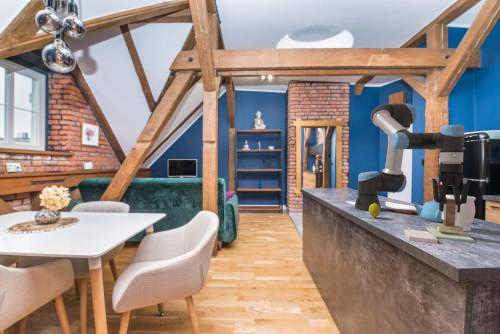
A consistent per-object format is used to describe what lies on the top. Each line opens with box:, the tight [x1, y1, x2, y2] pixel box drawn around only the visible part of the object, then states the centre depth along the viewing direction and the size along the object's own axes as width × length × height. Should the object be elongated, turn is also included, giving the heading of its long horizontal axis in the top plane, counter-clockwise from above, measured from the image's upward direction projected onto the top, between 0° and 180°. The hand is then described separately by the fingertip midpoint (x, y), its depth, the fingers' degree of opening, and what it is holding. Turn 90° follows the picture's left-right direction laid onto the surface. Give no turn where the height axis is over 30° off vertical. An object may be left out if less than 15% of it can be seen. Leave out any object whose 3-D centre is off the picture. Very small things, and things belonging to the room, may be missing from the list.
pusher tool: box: [434, 198, 464, 233], centre depth 104 cm, size 5×8×13 cm, turn 68°
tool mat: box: [426, 227, 475, 243], centre depth 104 cm, size 14×12×1 cm
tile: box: [403, 228, 438, 244], centre depth 100 cm, size 2×9×11 cm
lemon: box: [368, 203, 381, 218], centre depth 134 cm, size 6×6×8 cm
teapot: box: [412, 198, 443, 224], centre depth 130 cm, size 15×15×11 cm
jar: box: [445, 194, 476, 232], centre depth 114 cm, size 11×10×15 cm
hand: (449, 219), depth 104 cm, fingers closed on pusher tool, 3 cm apart
